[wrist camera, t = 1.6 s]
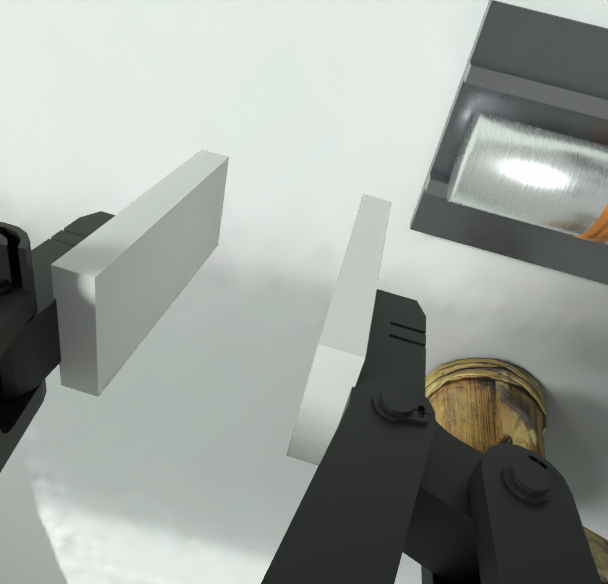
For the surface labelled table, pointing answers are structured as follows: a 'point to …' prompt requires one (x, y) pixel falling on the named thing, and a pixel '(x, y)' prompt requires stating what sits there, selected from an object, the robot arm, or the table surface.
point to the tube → (533, 177)
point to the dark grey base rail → (527, 110)
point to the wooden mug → (496, 415)
